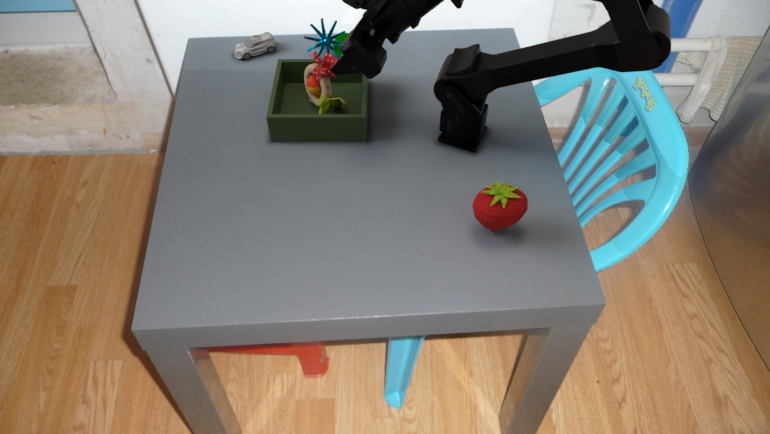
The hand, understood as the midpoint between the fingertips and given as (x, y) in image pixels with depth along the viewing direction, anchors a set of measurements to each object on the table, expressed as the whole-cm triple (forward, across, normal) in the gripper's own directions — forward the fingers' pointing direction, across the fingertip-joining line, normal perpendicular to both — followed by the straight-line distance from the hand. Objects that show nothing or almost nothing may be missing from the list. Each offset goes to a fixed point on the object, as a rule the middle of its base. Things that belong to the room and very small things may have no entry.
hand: (341, 55), depth 91 cm
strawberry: (-11, +19, +28) cm, 36 cm away
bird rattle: (+11, 0, +5) cm, 12 cm away
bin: (+11, 0, +5) cm, 12 cm away
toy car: (+24, -13, -7) cm, 29 cm away
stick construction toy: (+14, -17, +3) cm, 22 cm away
